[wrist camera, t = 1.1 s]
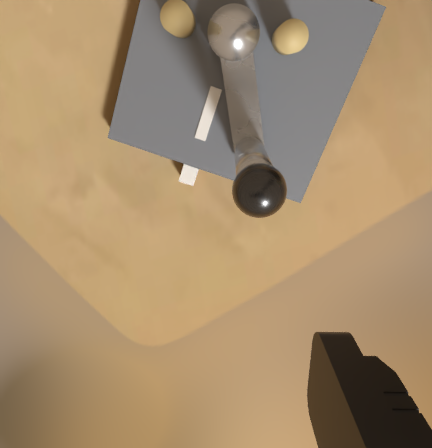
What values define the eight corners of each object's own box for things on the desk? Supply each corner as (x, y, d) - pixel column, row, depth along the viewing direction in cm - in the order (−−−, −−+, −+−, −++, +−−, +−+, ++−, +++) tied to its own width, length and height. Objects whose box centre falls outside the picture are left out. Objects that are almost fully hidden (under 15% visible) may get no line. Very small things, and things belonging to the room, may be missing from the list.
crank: (204, 11, 22) (186, -33, 13) (255, 2, 22) (275, -51, 12) (229, 169, 25) (229, 230, 16) (273, 163, 25) (301, 220, 15)
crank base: (163, -73, 22) (150, -103, 18) (376, 10, 24) (406, -2, 20) (109, 152, 27) (89, 166, 23) (289, 213, 28) (299, 236, 24)
